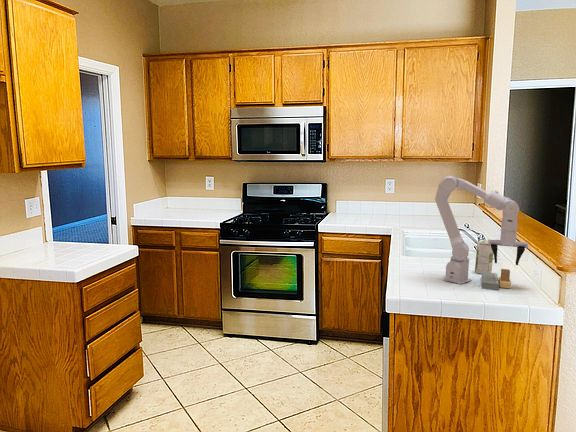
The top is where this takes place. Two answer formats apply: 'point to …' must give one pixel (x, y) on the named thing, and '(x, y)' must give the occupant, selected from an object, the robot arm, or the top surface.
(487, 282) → the grey block
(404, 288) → the top surface
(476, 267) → the syrup box
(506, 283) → the stub
